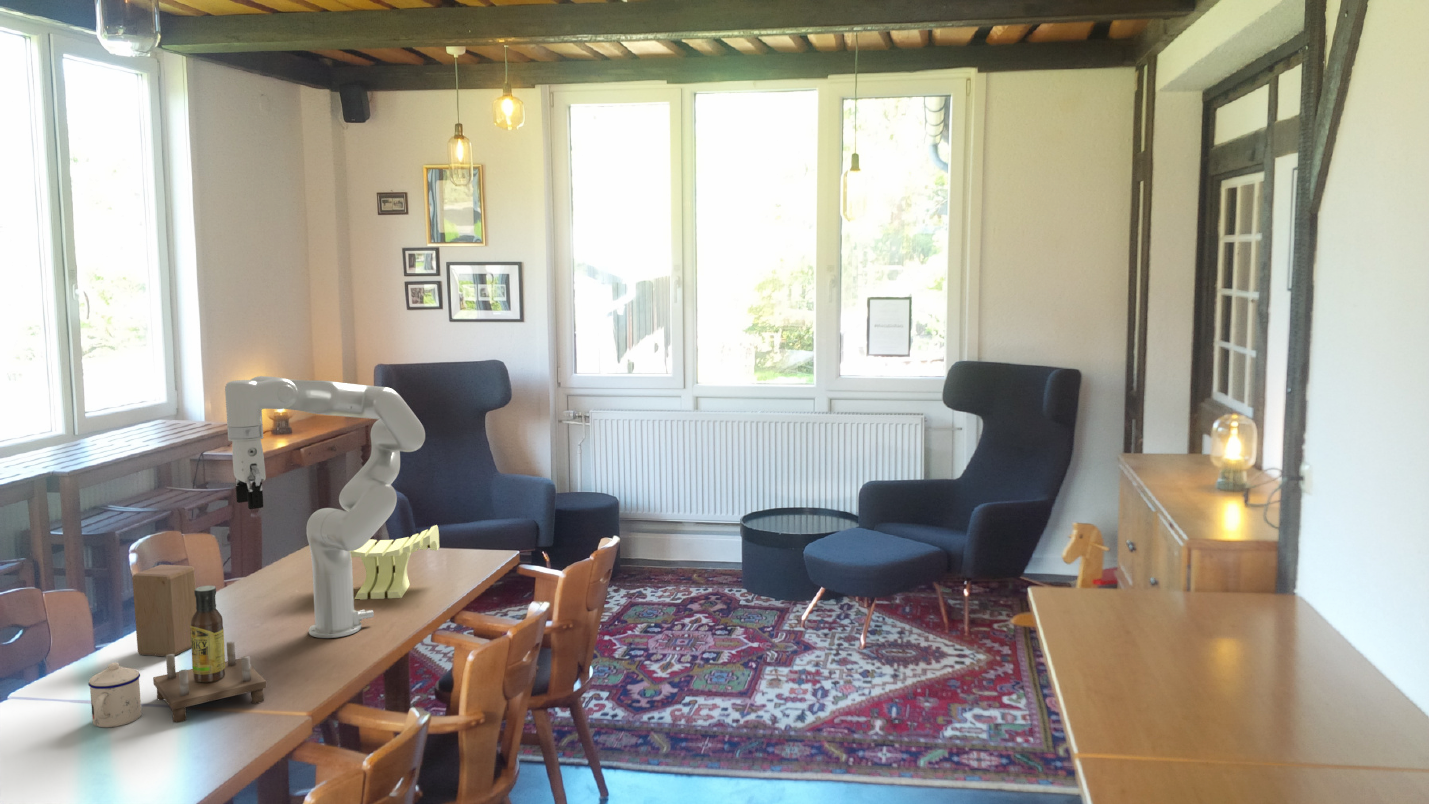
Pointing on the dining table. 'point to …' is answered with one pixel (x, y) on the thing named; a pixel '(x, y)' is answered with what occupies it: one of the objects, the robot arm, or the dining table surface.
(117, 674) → the teacup with lid
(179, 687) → the peg shelf
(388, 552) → the slatted curved stool
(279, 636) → the dining table surface
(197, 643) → the sauce bottle
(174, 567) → the wooden block
